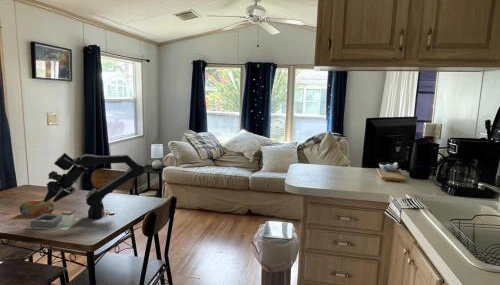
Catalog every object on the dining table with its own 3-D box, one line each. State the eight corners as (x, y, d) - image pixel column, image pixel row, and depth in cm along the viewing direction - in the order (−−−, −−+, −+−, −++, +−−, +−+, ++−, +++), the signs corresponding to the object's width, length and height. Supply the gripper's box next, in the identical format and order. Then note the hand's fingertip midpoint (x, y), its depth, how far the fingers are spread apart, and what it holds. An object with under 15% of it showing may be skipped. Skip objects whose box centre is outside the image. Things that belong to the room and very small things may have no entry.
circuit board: (81, 220, 160) (81, 218, 160) (67, 231, 146) (67, 229, 146) (45, 218, 159) (45, 217, 159) (27, 229, 145) (27, 228, 145)
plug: (74, 222, 155) (74, 210, 154) (70, 225, 151) (70, 212, 150) (66, 222, 155) (66, 209, 154) (62, 225, 151) (61, 212, 150)
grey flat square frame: (64, 220, 157) (64, 214, 156) (53, 228, 147) (52, 221, 146) (43, 219, 156) (43, 213, 156) (30, 227, 146) (30, 220, 146)
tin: (19, 217, 159) (19, 201, 158) (22, 215, 162) (21, 199, 161) (53, 216, 163) (53, 200, 162) (55, 214, 166) (55, 198, 165)
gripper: (67, 167, 165) (45, 192, 161) (50, 163, 146) (25, 190, 143) (84, 180, 165) (62, 205, 161) (69, 178, 146) (44, 205, 143)
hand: (49, 201), depth 152 cm, fingers open, 9 cm apart
